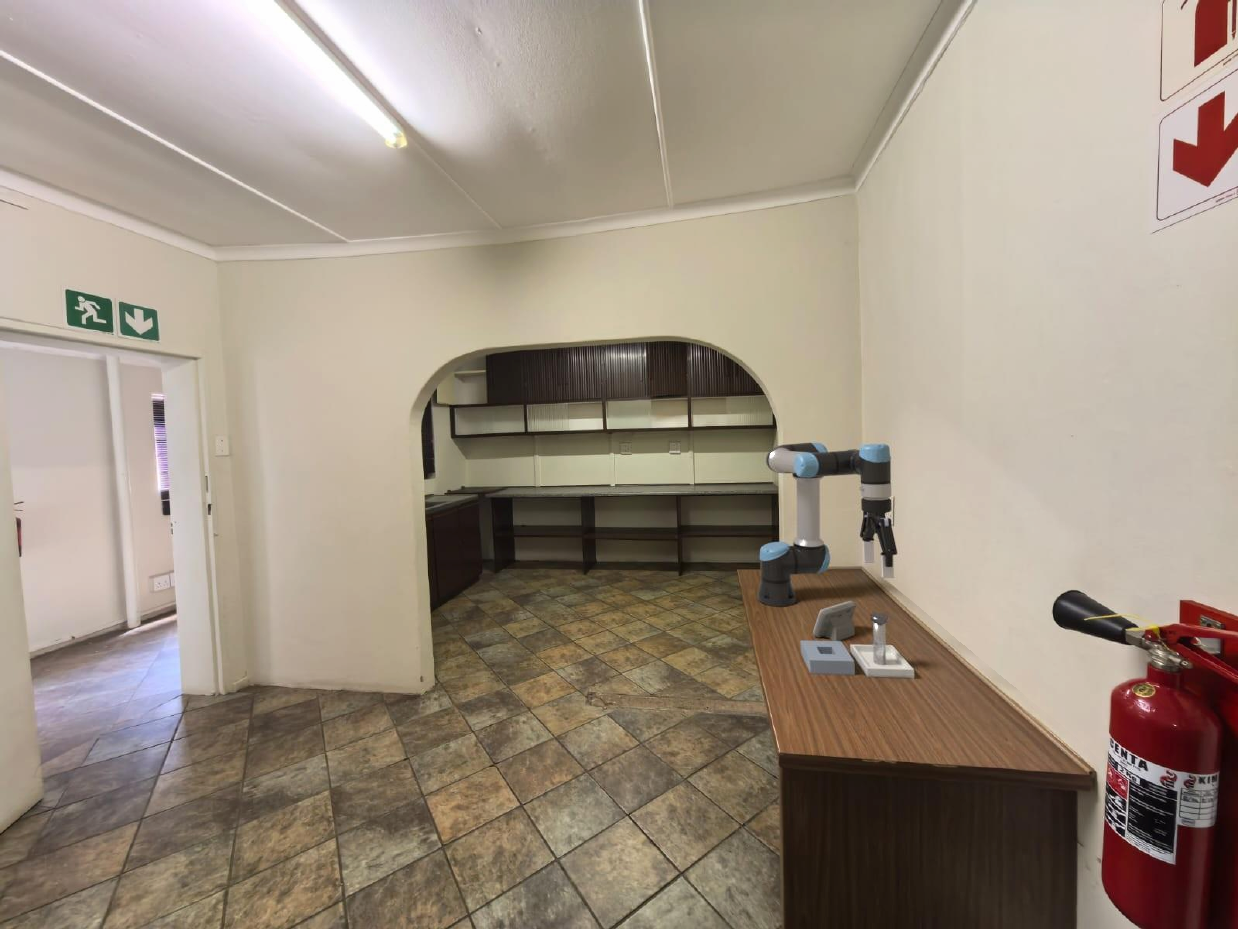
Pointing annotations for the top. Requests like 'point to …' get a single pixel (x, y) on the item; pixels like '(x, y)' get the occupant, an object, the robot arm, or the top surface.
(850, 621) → the digital clock
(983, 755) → the top surface
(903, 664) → the tray
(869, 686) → the top surface
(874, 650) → the pin
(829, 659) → the socket block
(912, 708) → the top surface
